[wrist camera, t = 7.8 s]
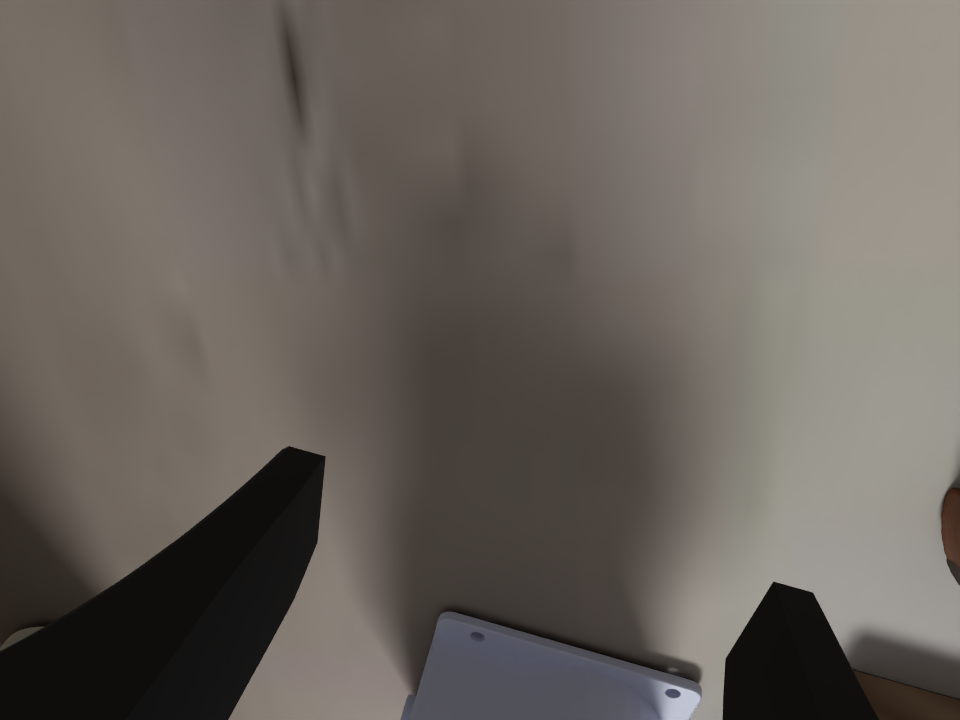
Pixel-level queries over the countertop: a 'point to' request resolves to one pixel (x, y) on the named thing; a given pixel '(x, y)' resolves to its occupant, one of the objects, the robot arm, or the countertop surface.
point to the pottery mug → (952, 531)
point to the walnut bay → (906, 701)
